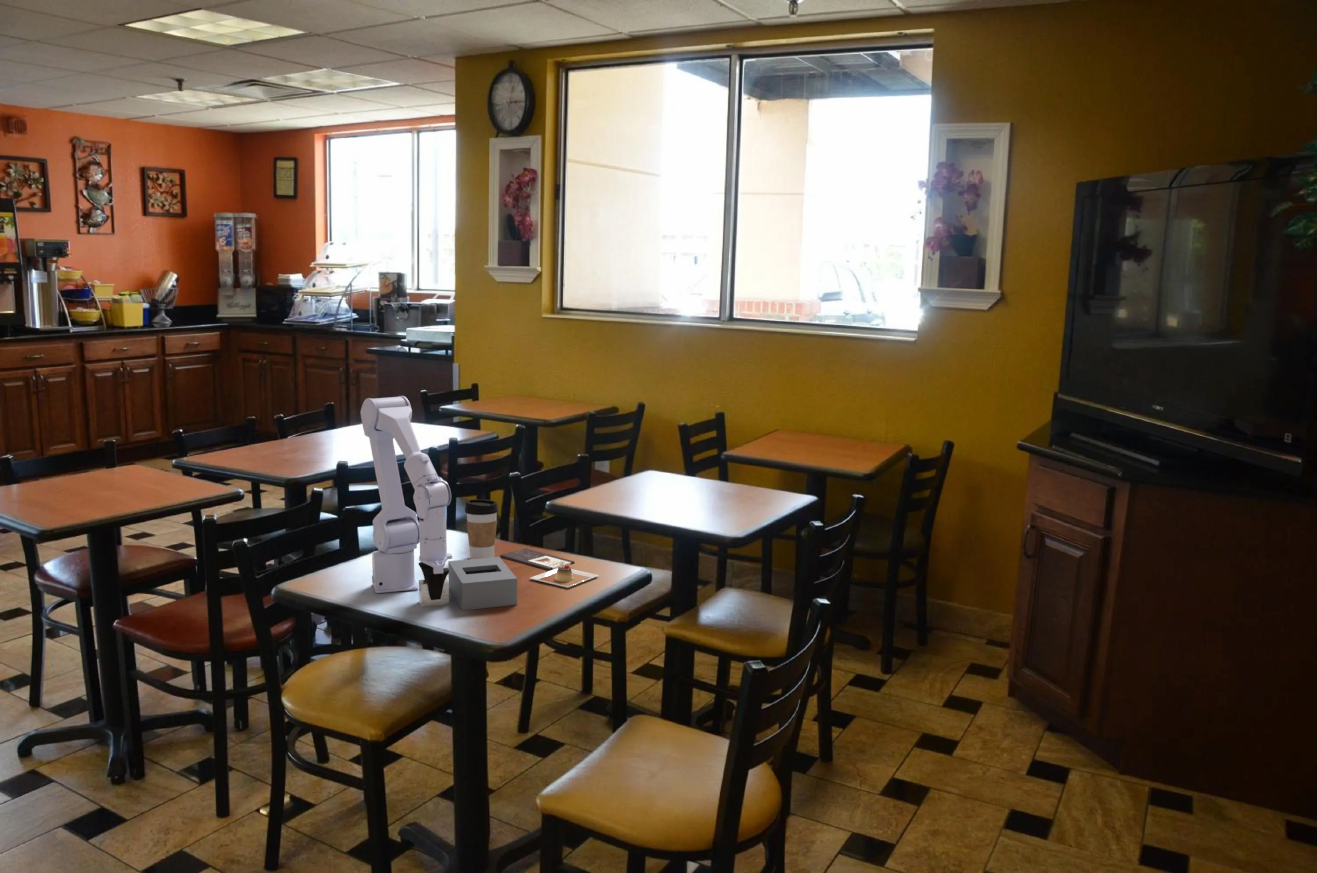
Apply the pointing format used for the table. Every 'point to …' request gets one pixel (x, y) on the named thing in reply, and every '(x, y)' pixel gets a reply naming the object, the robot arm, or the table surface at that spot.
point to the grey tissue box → (482, 583)
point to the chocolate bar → (536, 559)
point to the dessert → (563, 575)
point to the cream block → (425, 597)
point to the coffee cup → (481, 527)
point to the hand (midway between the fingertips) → (434, 596)
